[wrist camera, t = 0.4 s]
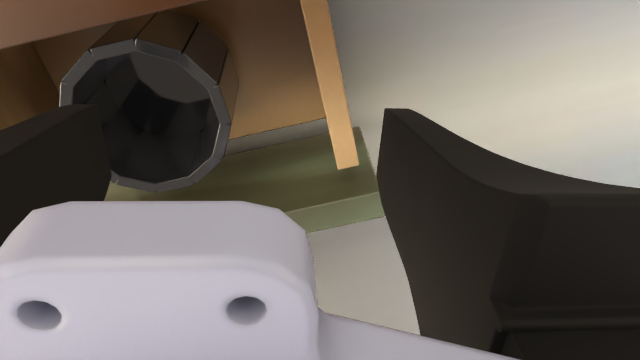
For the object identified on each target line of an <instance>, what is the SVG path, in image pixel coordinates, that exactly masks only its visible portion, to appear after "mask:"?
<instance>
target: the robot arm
mask: <svg viewBox="0 0 640 360" xmlns="http://www.w3.org/2000/svg"><path fill="white" fill-rule="evenodd" d="M111 177H112V175H111V170H110V165H109V160H108V155H107V150H106V145H105V140H104V136H103V131H102V126H101V121H100V116H99V111H98V106H97V105H87V104H71V105H65V106H62V107H58V108H55V109H52V110H50V111H47V112H44V113H42V114H39V115H37V116H34V117H32V118H29V119H27V120H24V121H22V122H20V123H17V124H15V125H12V126H10V127H7V128H5V129H2V130H0V360H640V188H633V187H625V186H617V185H609V184H603V183H598V182H592V181H587V180H582V179H577V178H572V177H568V176H564V175H560V174H555V173H552V172H548V171H545V170H541V169H538V168H534V167H531V166H528V165H525V164H522V163H519V162H516V161H513V160H511V159H508V158H505V157H503V156H500V155H498V154H495V153H493V152H490V151H488V150H486V149H484V148H482V147H480V146H478V145H475V144H473V143H471V142H469V141H467V140H465V139H464V138H462V137H460V136H458V135H456V134H454V133H452V132H451V131H449V130H447V129H445V128H444V127H442V126H440V125H439V124H437V123H435V122H433V121H432V120H430V119H428V118H426V117H425V116H423V115H421V114H419V113H417V112H415V111H413V110H410V109H390V108H385V110H384V118H383V126H382V134H381V142H380V150H379V158H378V166H377V175H376V177H377V183H378V189H379V194H380V199H381V204H382V207H383V210H384V213H385V216H386V219H387V221H388V224H389V227H390V230H391V232H392V235H393V238H394V240H395V243H396V246H397V249H398V251H399V254H400V257H401V259H402V262H403V265H404V268H405V271H406V274H407V277H408V280H409V284H410V289H411V293H412V297H413V302H414V306H415V310H416V315H417V320H418V324H419V329H420V334H421V336H420V335H416V334H412V333H408V332H404V331H400V330H395V329H391V328H387V327H383V326H379V325H375V324H371V323H366V322H362V321H358V320H354V319H350V318H346V317H341V316H337V315H333V314H329V313H325V312H324V311H322V310H321V309H320V308H319V307H318V302H317V291H316V281H315V271H314V260H313V255H312V252H311V248H310V245H309V242H308V238H307V235H306V232H305V230H304V229H303V228H302V227H301V226H299V225H298V224H297V223H296V222H294V221H293V220H292V219H291V218H290V217H288V216H287V215H286V214H285V213H283V212H282V211H281V210H280V209H277V208H273V207H268V206H263V205H259V204H254V203H249V202H245V201H104V200H105V197H106V194H107V191H108V187H109V184H110V180H111Z"/></svg>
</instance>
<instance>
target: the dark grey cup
mask: <svg viewBox="0 0 640 360" xmlns="http://www.w3.org/2000/svg"><path fill="white" fill-rule="evenodd" d="M227 47H228V46H227V45H226V44H225V43H224V42H223V41H222V40H221V39H220V38H219V37H218V36H217V35H216V34H215V33H214V32H213V31H212V30H211V29H210V28H209V27H208V26H207V25H206V24H205V23H204V22H203V21H201V20H200V21H199V19H198V18H195V17H191V16H188V15H185V14H181V13H178V12H175V11H171V10H164V11H160V12H156V13H152V14H147V15H143V16H139V17H135V18H131V19H127V20H122V21H118V22H117V23H116V24H115V25H114V26H112V27H111V28H110V29H109V30H108V31H107V32H106V33H105V34H104V35H103V36H102V37H101V38H99V39H98V40H97V41H96V42H95V43H94V44H93V45H92V46H91V47H90V48H89V49H87V50H86V52H85V53H84V54H83V55H82V56H81V57H80V58H79V59H78V61H77V62H76V63H75V64H74V65H73V66H72V67H71V69H70V70H69V71H68V72H67V73H66V74H65V75H64V76H63V78H62V81H61V82H60V96H59V107H62V106H65V105H71V104H87V105H97V106H98V111H99V116H100V121H101V126H102V131H103V136H104V140H105V145H106V150H107V155H108V160H109V165H110V170H111V175H112V177H111V180H110V181H111V182H112V183H115V182H116V185H120V186H124V187H129V188H134V189H138V190H143V191H148V192H152V193H156V191H157V193H161V192H165V191H170V190H174V189H179V188H183V187H188V186H192V185H194V183H195V184H197V183H198V182H199V181H200V180H201V179H202V178H203V177H205V176H206V175H207V174H208V173H209V172H210V171H211V170H212V169H213V168H215V167H216V166H217V165H218V164H219V163H220V162H221V161H222V159H223V158H224V154H225V150H226V146H227V142H228V138H229V134H230V131H231V127H232V121H233V116H234V110H235V105H236V99H237V94H238V88H239V78H238V74H237V71H236V68H235V65H234V62H233V59H232V55H231V52H230V49H229V48H227Z"/></svg>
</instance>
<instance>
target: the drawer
mask: <svg viewBox="0 0 640 360" xmlns="http://www.w3.org/2000/svg"><path fill="white" fill-rule="evenodd" d="M168 10H171V11H175V12H178V13H181V14H185V15H188V16H191V17H195V18H198V19H199V21H200V20H201V21H203V22H204V23H205V24H206V25H207V26H208V27H209V28H210V29H211V30H212V31H213V32H214V33H215V34H216V35H217V36H218V37H219V38H220V39H221V40H222V41H223V42H224V43H225V44H226V45H227V46H228V47H227V48H229V49H230V52H231V55H232V59H233V62H234V65H235V68H236V71H237V74H238V78H239V88H238V94H237V99H236V105H235V110H234V116H233V121H232V127H231V131H230V134H229V138H228V140H230V139H234V138H239V137H243V136H247V135H252V134H256V133H261V132H265V131H270V130H274V129H279V128H283V127H287V126H292V125H296V124H301V123H305V122H310V121H314V120H319V119H323V118H326V119H327V124H328V128H329V133H326V134H321V135H317V136H312V137H308V138H304V139H299V140H295V141H290V142H286V143H281V144H277V145H272V146H268V147H263V148H259V149H254V150H250V151H245V152H241V153H237V154H232V155H228V156H224V158H223V159H222V161H221V162H220V163H219V164H218V165H217V166H216V167H215V168H213V169H212V170H211V171H210V172H209V173H208V174H207V175H206V176H205V177H203V178H202V179H201V180H200V181H199V182H198V183H197V184H195V183H194V185H192V186H188V187H183V188H179V189H174V190H170V191H165V192H161V193H157V191H156V193H152V192H148V191H143V190H138V189H134V188H129V187H124V186H120V185H116V182H115V183H112V182H110V184H109V187H108V191H107V194H106V197H105V200H104V201H245V202H249V203H254V204H259V205H263V206H268V207H273V208H277V209H280V210H281V211H282V212H283V213H285V214H286V215H287V216H288V217H290V218H291V219H292V220H293V221H294V222H296V223H297V224H298V225H299V226H301V227H302V228H303V229H304V230H305V232H306V233H310V232H314V231H319V230H324V229H328V228H333V227H338V226H342V225H347V224H352V223H356V222H361V221H366V220H370V219H375V218H380V217H384V216H385V213H384V210H383V207H382V204H381V199H380V194H379V189H378V183H377V178H376V175H375V172H374V169H373V166H372V163H371V160H370V157H369V154H368V150H367V147H366V144H365V141H364V138H363V135H362V132H361V129H360V127H359V126H357V127H353V128H352V124H351V119H350V114H349V109H348V104H347V99H346V93H345V88H344V83H343V78H342V73H341V68H340V63H339V57H338V52H337V47H336V42H335V37H334V32H333V27H332V21H331V16H330V11H329V6H328V1H327V0H206V1H202V2H198V3H193V4H189V5H185V6H181V7H177V8H172V9H168ZM116 23H117V22H114V23H110V24H106V25H101V26H97V27H93V28H89V29H85V30H81V31H76V32H72V33H68V34H64V35H60V36H56V37H51V38H47V39H43V40H39V41H35V42H30V43H26V44H22V45H18V46H14V47H10V48H5V49H1V50H0V130H2V129H5V128H7V127H10V126H12V125H15V124H17V123H20V122H22V121H24V120H27V119H29V118H32V117H34V116H37V115H39V114H42V113H44V112H47V111H50V110H52V109H55V108H58V107H59V96H60V82H61V81H62V78H63V76H64V75H65V74H66V73H67V72H68V71H69V70H70V69H71V67H72V66H73V65H74V64H75V63H76V62H77V61H78V59H79V58H80V57H81V56H82V55H83V54H84V53H85V52H86V50H87V49H89V48H90V47H91V46H92V45H93V44H94V43H95V42H96V41H97V40H98V39H99V38H101V37H102V36H103V35H104V34H105V33H106V32H107V31H108V30H109V29H110V28H111V27H112V26H114V25H115V24H116Z"/></svg>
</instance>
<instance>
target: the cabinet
mask: <svg viewBox="0 0 640 360" xmlns="http://www.w3.org/2000/svg"><path fill="white" fill-rule="evenodd" d="M202 1H206V0H0V50H1V49H5V48H10V47H14V46H18V45H22V44H26V43H30V42H35V41H39V40H43V39H47V38H51V37H56V36H60V35H64V34H68V33H72V32H76V31H81V30H85V29H89V28H93V27H97V26H101V25H106V24H110V23H114V22H118V21H122V20H127V19H131V18H135V17H139V16H143V15H147V14H152V13H156V12H160V11H164V10H168V9H172V8H177V7H181V6H185V5H189V4H193V3H198V2H202Z"/></svg>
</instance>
